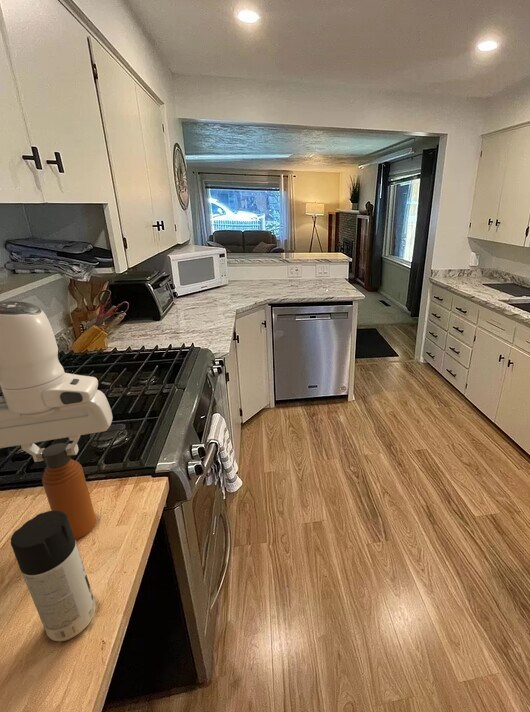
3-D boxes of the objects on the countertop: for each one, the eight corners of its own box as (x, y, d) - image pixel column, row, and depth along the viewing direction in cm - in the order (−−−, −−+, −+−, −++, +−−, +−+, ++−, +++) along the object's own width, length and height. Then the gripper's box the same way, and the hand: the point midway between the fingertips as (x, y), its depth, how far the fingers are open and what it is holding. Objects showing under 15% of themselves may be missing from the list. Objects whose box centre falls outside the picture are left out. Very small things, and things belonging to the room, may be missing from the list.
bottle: (52, 541, 71) (25, 463, 64) (72, 515, 77) (50, 441, 70) (84, 540, 71) (62, 462, 65) (102, 514, 77) (83, 441, 71)
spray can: (106, 606, 59) (79, 515, 53) (67, 651, 53) (30, 554, 47) (77, 593, 61) (47, 503, 55) (36, 634, 55) (-4, 539, 49)
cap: (67, 466, 67) (64, 453, 66) (42, 470, 66) (38, 458, 65) (74, 452, 71) (70, 441, 70) (50, 457, 69) (46, 445, 68)
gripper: (-47, 411, 57) (-19, 479, 62) (98, 391, 63) (113, 455, 68) (-26, 392, 63) (-1, 457, 67) (106, 376, 69) (120, 436, 74)
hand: (57, 456), depth 68 cm, fingers closed on cap, 4 cm apart
